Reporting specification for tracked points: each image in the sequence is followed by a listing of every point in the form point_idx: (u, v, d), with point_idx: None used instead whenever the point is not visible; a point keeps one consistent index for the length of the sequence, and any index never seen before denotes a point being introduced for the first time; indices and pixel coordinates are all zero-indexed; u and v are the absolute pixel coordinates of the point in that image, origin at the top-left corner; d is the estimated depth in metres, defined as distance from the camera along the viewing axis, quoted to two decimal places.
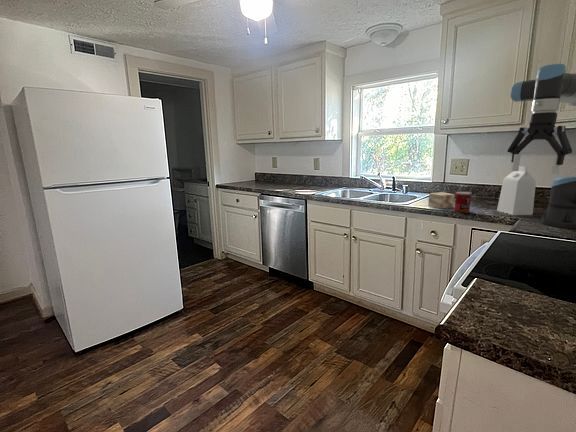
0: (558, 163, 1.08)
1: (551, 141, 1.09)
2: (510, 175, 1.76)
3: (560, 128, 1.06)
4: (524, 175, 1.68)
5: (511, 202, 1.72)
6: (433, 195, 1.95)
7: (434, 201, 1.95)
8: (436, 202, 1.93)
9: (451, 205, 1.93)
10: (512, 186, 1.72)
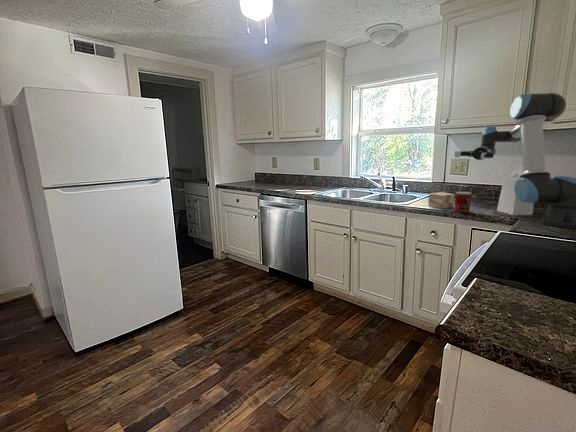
0: None
1: (466, 155, 1.88)
2: (510, 175, 1.76)
3: None
4: None
5: (511, 202, 1.72)
6: (433, 195, 1.95)
7: (434, 201, 1.94)
8: (436, 202, 1.93)
9: (451, 205, 1.94)
10: (512, 186, 1.72)
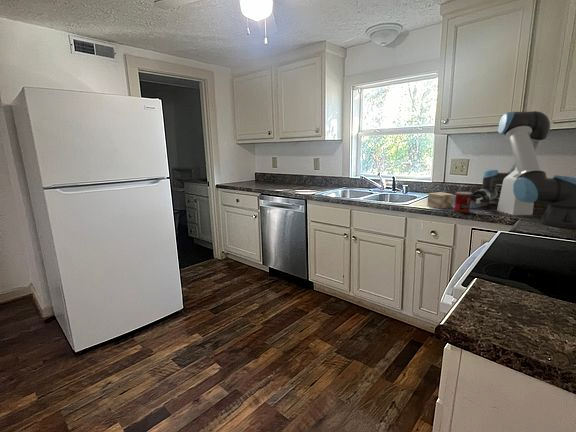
0: None
1: None
2: (510, 175, 1.76)
3: None
4: None
5: (511, 202, 1.72)
6: (432, 195, 1.95)
7: (433, 201, 1.94)
8: (435, 202, 1.93)
9: (450, 205, 1.93)
10: (512, 186, 1.72)
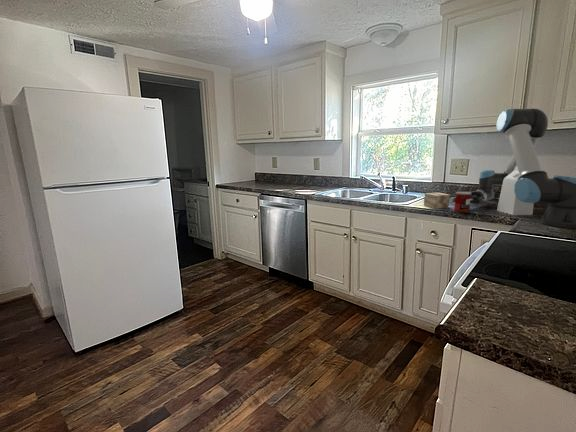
0: None
1: None
2: (510, 175, 1.76)
3: None
4: None
5: (511, 202, 1.72)
6: (428, 195, 1.95)
7: (429, 201, 1.95)
8: (431, 202, 1.93)
9: (446, 205, 1.92)
10: (512, 186, 1.72)
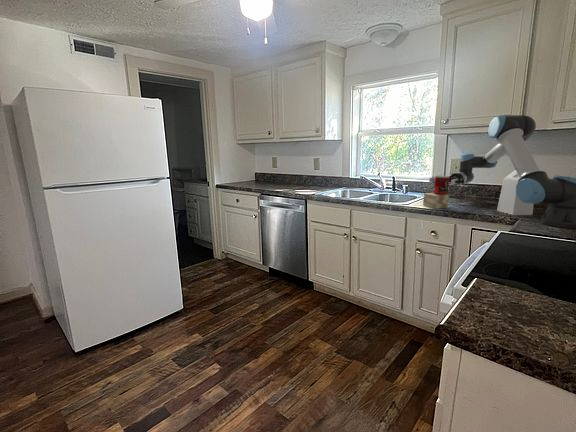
0: None
1: None
2: (510, 175, 1.76)
3: None
4: None
5: (511, 202, 1.72)
6: (427, 195, 1.95)
7: (428, 201, 1.95)
8: (430, 202, 1.93)
9: (445, 205, 1.92)
10: (512, 186, 1.72)
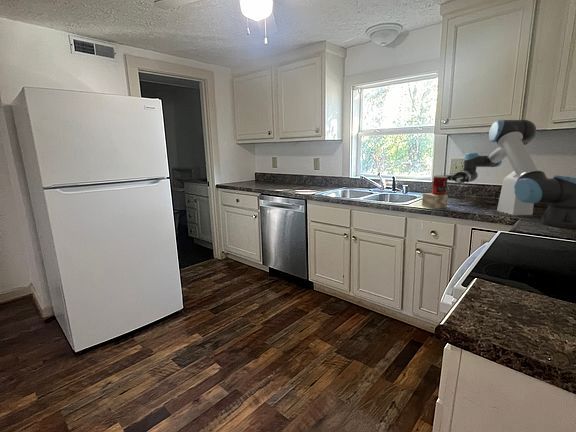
0: None
1: None
2: (510, 175, 1.76)
3: None
4: None
5: (511, 202, 1.72)
6: (426, 195, 1.95)
7: (427, 201, 1.94)
8: (428, 202, 1.93)
9: (444, 206, 1.92)
10: (512, 186, 1.72)
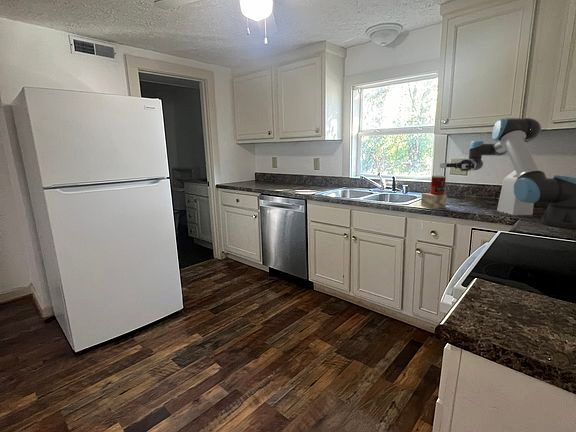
0: None
1: None
2: (510, 175, 1.76)
3: None
4: None
5: (511, 202, 1.72)
6: (425, 195, 1.95)
7: (426, 201, 1.95)
8: (427, 202, 1.93)
9: (443, 206, 1.92)
10: (512, 186, 1.72)
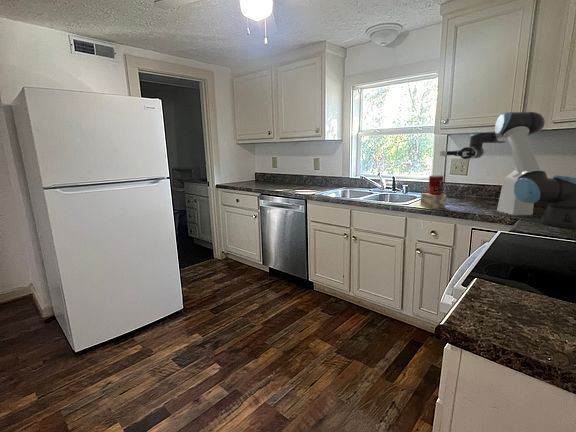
0: None
1: None
2: (510, 175, 1.76)
3: None
4: None
5: (511, 202, 1.72)
6: (424, 195, 1.95)
7: (425, 201, 1.95)
8: (427, 202, 1.93)
9: (442, 206, 1.92)
10: (512, 186, 1.72)
